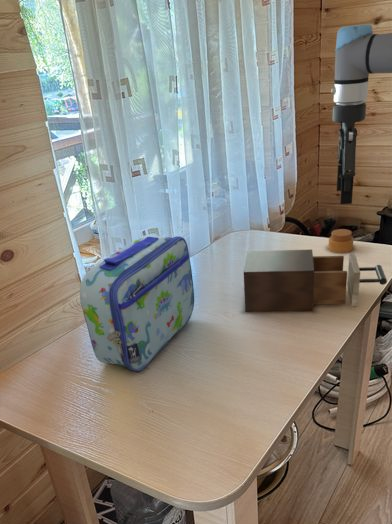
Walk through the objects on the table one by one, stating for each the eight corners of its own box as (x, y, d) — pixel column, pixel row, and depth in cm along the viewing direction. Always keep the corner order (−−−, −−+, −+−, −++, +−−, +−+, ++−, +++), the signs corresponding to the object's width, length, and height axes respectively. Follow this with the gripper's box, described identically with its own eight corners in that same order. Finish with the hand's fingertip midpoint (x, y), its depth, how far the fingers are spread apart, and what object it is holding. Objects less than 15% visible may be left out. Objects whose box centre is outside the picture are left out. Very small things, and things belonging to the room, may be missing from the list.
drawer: (378, 284, 117) (382, 252, 113) (385, 305, 108) (389, 271, 104) (292, 285, 120) (293, 254, 116) (293, 306, 112) (293, 273, 108)
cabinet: (310, 288, 121) (312, 249, 116) (312, 311, 111) (314, 270, 106) (248, 289, 123) (247, 251, 118) (245, 312, 114) (243, 272, 109)
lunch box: (134, 384, 94) (115, 279, 83) (89, 371, 99) (65, 271, 88) (203, 318, 113) (194, 226, 102) (162, 310, 118) (149, 221, 107)
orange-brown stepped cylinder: (351, 243, 141) (352, 227, 139) (354, 252, 136) (355, 236, 134) (327, 244, 142) (328, 228, 140) (329, 253, 137) (330, 237, 135)
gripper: (329, 97, 130) (326, 185, 142) (337, 111, 111) (331, 211, 123) (360, 95, 129) (354, 183, 141) (373, 109, 110) (364, 210, 121)
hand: (343, 196), depth 132 cm, fingers open, 11 cm apart
